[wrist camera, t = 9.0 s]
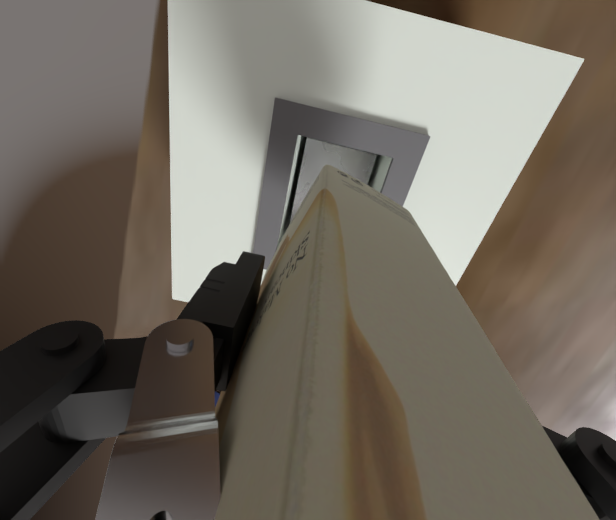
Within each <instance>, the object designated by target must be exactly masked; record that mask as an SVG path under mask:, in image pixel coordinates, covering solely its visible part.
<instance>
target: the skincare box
mask: <svg viewBox="0 0 616 520" xmlns="http://www.w3.org/2000/svg"><path fill="white" fill-rule="evenodd" d="M215 417H216V418H217V421H218V434H219V462H220V490H221V498H220V502H219V506H218V509H217V513H216V516H215V520H600V519H599V518H598V516H597V515H596V513H595V511H594V510H593V508H592V506H591V505H590V503H589V502H588V500H587V498H586V497H585V495H584V493H583V492H582V490H581V489H580V487H579V485H578V484H577V482H576V480H575V479H574V477H573V476H572V474H571V473H570V471H569V469H568V468H567V466H566V465H565V463H564V462H563V460H562V459H561V457H560V455H559V453H558V452H557V450H556V448H555V447H554V445H553V443H552V442H551V440H550V438H549V437H548V435H547V434H546V432H545V430H544V429H543V427H542V425H541V424H540V422H539V421H538V419H537V417H536V416H535V414H534V413H533V411H532V409H531V408H530V406H529V404H528V403H527V401H526V400H525V398H524V397H523V395H522V394H521V392H520V390H519V389H518V387H517V386H516V384H515V382H514V381H513V379H512V377H511V376H510V374H509V372H508V371H507V369H506V368H505V366H504V364H503V363H502V361H501V359H500V358H499V356H498V354H497V353H496V351H495V349H494V347H493V346H492V344H491V343H490V341H489V339H488V338H487V336H486V334H485V333H484V331H483V330H482V328H481V326H480V325H479V323H478V322H477V320H476V318H475V317H474V315H473V314H472V312H471V310H470V309H469V307H468V305H467V304H466V302H465V301H464V299H463V297H462V296H461V294H460V293H459V291H458V289H457V288H456V286H455V284H454V283H453V281H452V280H451V278H450V276H449V275H448V273H447V271H446V270H445V268H444V267H443V265H442V264H441V262H440V260H439V259H438V257H437V255H436V254H435V252H434V250H433V249H432V247H431V246H430V244H429V243H428V241H427V239H426V237H425V236H424V234H423V233H422V231H421V229H420V228H419V226H418V225H417V223H416V221H415V220H414V218H413V216H412V215H411V213H410V212H409V211H408V210H407V209H405V208H404V207H402V206H401V205H399V204H398V203H396V202H394V201H393V200H391V199H390V198H388V197H386V196H385V195H383V194H381V193H380V192H378V191H376V190H375V189H373V188H371V187H370V186H368V185H366V184H365V183H363V182H361V181H359V180H358V179H356V178H354V177H352V176H350V175H348V174H347V173H345V172H343V171H341V170H339V169H337V168H335V167H333V166H331V165H325V166H324V167H323V168H322V170H321V171H320V173H319V175H318V176H317V178H316V180H315V181H314V183H313V185H312V186H311V188H310V190H309V191H308V193H307V195H306V196H305V198H304V200H303V201H302V203H301V205H300V207H299V208H298V210H297V212H296V214H295V216H294V217H293V219H292V221H291V223H290V224H289V226H288V228H287V230H286V232H285V234H284V236H283V238H282V240H281V242H280V244H279V246H278V248H277V250H276V252H275V254H274V256H273V258H272V260H271V262H270V264H269V266H268V268H267V270H266V273H265V275H264V278H263V281H262V284H261V286H260V292H259V297H258V302H257V305H256V308H255V311H254V314H253V316H252V319H251V322H250V325H249V327H248V330H247V333H246V336H245V338H244V341H243V344H242V347H241V350H240V352H239V355H238V358H237V361H236V364H235V366H234V369H233V372H232V375H231V378H230V380H229V383H228V386H227V389H226V391H221V393H220V396H219V399H218V401H217V404H216V407H215Z"/></svg>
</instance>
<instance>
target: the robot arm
mask: <svg viewBox="0 0 616 520" xmlns="http://www.w3.org/2000/svg"><path fill="white" fill-rule="evenodd" d="M264 262H265V256H263V255H259V254H254V253H250V252H245V251H243V252H242V254H241V256H240V257H239V259H238V261H237V262H236V264H232V263H227V262H223V263H221V264H219V265H218V266H216V267H214V268H212V270H211V271H210V272H209V274H208V275H207V277H206V279H205V280H204V281H203V282H202V284H201V285H200V288H198V290H197V291H196V292H195V294H194V295H193V297H192V298H191V300H190V301H189V302H188V304H187V305H186V307H185V308H184V310H183V311H182V312H181V314H180V315H179V317H178V318H177V320H172V321H168V322H165V323H163V324H161V325H159V326H158V327H156V328H155V329H154V330H152V331H151V333H150V334H149V335H148V336H147V337H142V338H130V339H107V340H104V337H103V333H102V331H101V329H100V328H99V327H98V326H96V325H95V324H92V323H89V322H85V321H65V322H59V323H55V324H51V325H48V326H46V327H43V328H41V329H39V330H37V331H35V332H33V333H31V334H29V335H28V336H26V337H24V338H22V339H21V340H19V341H17V342H16V343H14V344H12V345H10V346H9V347H7V348H5V349H3V350H2V351H0V520H30V519H31V518H32V517H33V516H34V514H35V513H36V512H37V511H38V510H39V509H40V508H41V507H42V506H43V505H44V504H45V503H46V501H48V499H49V498H50V497H51V496H52V495H53V494H54V493H55V492H56V491H57V490H58V489H59V488H60V486H62V484H63V483H64V482H65V481H66V480H67V479H68V478H69V477H70V476H71V475H72V474H73V473H74V472H75V471H76V469H77V468H78V467H79V466H80V465H81V464H82V463H83V462H84V461H85V460H86V459H87V458H88V457H89V456H90V455H91V453H92V452H93V451H94V450H95V449H96V448H97V447H98V446H99V445H100V444H101V443H102V442H103V441H104V440H105V438H107V437H114V436H117V438H116V441H115V444H114V447H113V450H112V454H111V458H110V461H109V465H108V470H107V474H106V478H105V482H104V486H103V490H102V494H101V499H100V502H99V506H98V511H97V515H96V519H95V520H215V516H216V513H217V509H218V506H219V502H220V498H221V490H220V462H219V434H218V421H217V418H216V417H215V391H216V390H220V391H226V389H227V386H228V383H229V380H230V378H231V375H232V372H233V369H234V366H235V364H236V361H237V358H238V355H239V352H240V350H241V347H242V344H243V341H244V338H245V336H246V333H247V330H248V327H249V325H250V322H251V319H252V316H253V314H254V311H255V308H256V305H257V302H258V297H259V292H260V286H261V280H262V274H263V268H264ZM542 427H543V429H544V430H545V432H546V434H547V435H548V437H549V438H550V440H551V442H552V443H553V445H554V447H555V448H556V450H557V452H558V453H559V455H560V457H561V459H562V460H563V462H564V463H565V465H566V466H567V468H568V469H569V471H570V473H571V474H572V476H573V477H574V479H575V480H576V482H577V484H578V485H579V487H580V489H581V490H582V492H583V493H584V495H585V497H586V498H587V500H588V502H589V503H590V505H591V506H592V508H593V510H594V511H595V513H596V515H597V516H598V518H599V519H600V520H616V441H615V440H613V439H612V438H610V437H608V436H607V435H605V434H603V433H601V432H599V431H597V430H594V429H591V428H585V427H582V428H579V429H577V430H576V431H575V432H574V433H572V434H571V435H570V436H569V437H568V438H567V437H565V436H563V435H560V434H558V433H556V432H554V431H552V430H550V429H548V428H546V427H544V426H542Z"/></svg>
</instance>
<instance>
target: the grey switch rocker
mask: <svg viewBox="0 0 616 520" xmlns="http://www.w3.org/2000/svg"><path fill="white" fill-rule="evenodd" d="M376 156H377V154H374V153H370V152H366V151H362V150H358V149H354V148H350V147H346V146H342V145H337V144H333V143H329V142H325V141H321V140H317V139H313V138H309V137H307V139H306V144H305V149H304V154H303V159H302V164H301V169H300V174H299V179H298V184H297V189H296V194H295V199H294V204H293V209H292V214H291V219H290V223H291V221H292V219H293V217H294V216H295V214H296V212H297V210H298V208H299V207H300V205H301V203H302V201H303V200H304V198H305V196H306V195H307V193H308V191H309V190H310V188H311V186H312V185H313V183H314V181H315V180H316V178H317V176H318V175H319V173H320V171H321V170H322V168H323V167H324V166H325V165H331V166H333V167H335V168H337V169H339V170H341V171H343V172H345V173H347V174H348V175H350V176H352V177H354V178H356V179H358V180H359V181H361V182H363V183H365V184H366V185H367V184H368V181H369V178H370V175H371V172H372V169H373V166H374V163H375V159H376Z"/></svg>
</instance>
